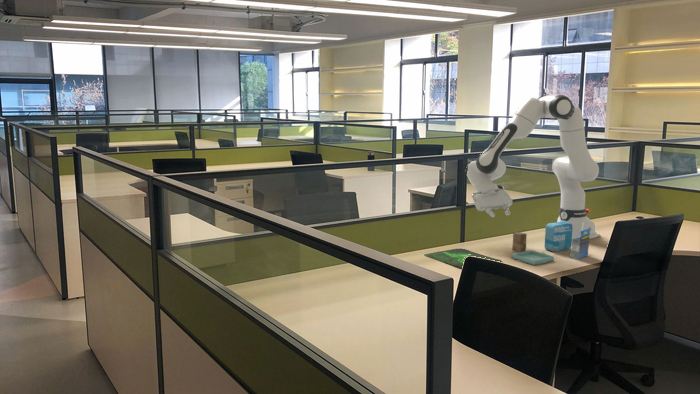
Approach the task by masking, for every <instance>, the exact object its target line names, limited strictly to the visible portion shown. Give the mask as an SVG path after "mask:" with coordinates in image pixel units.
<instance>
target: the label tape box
mask: <svg viewBox="0 0 700 394" xmlns="http://www.w3.org/2000/svg"><path fill="white" fill-rule="evenodd" d="M585 232H587V233H586V234H584V233H585ZM580 234H581V236H579V237H576V238H574V239H572V243H571V248H570V258H572V259H574V258H575V260H580V259H582V258H584V257H586V256H589V245H590V239H589V237H590V228H589V229H586V230H583V231H580Z"/></svg>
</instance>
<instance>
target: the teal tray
mask: <svg viewBox="0 0 700 394" xmlns="http://www.w3.org/2000/svg"><path fill="white" fill-rule="evenodd" d="M511 259H512V260H514V261H519V262H522V263H525V264H528V265H531V266H538V265H542V264H546V263H551V262H555V256H553V255H549V254H546V253H543V252H540V251H536V250H532V249H530V250H526V251H524V252H515V253H511Z"/></svg>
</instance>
